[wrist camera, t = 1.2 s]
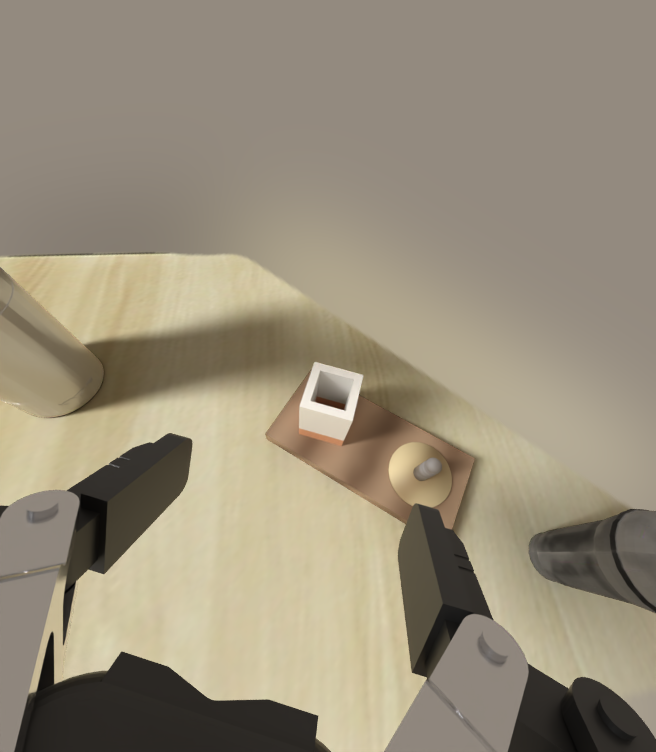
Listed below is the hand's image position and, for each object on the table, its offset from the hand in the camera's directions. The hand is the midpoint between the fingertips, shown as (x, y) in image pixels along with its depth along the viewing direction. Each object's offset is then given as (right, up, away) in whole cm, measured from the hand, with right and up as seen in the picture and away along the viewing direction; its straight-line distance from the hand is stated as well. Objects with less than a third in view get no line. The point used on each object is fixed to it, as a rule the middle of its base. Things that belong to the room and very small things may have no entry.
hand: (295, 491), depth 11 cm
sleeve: (+1, -1, +25) cm, 25 cm away
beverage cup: (+25, -15, +22) cm, 37 cm away
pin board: (+6, -5, +26) cm, 27 cm away
